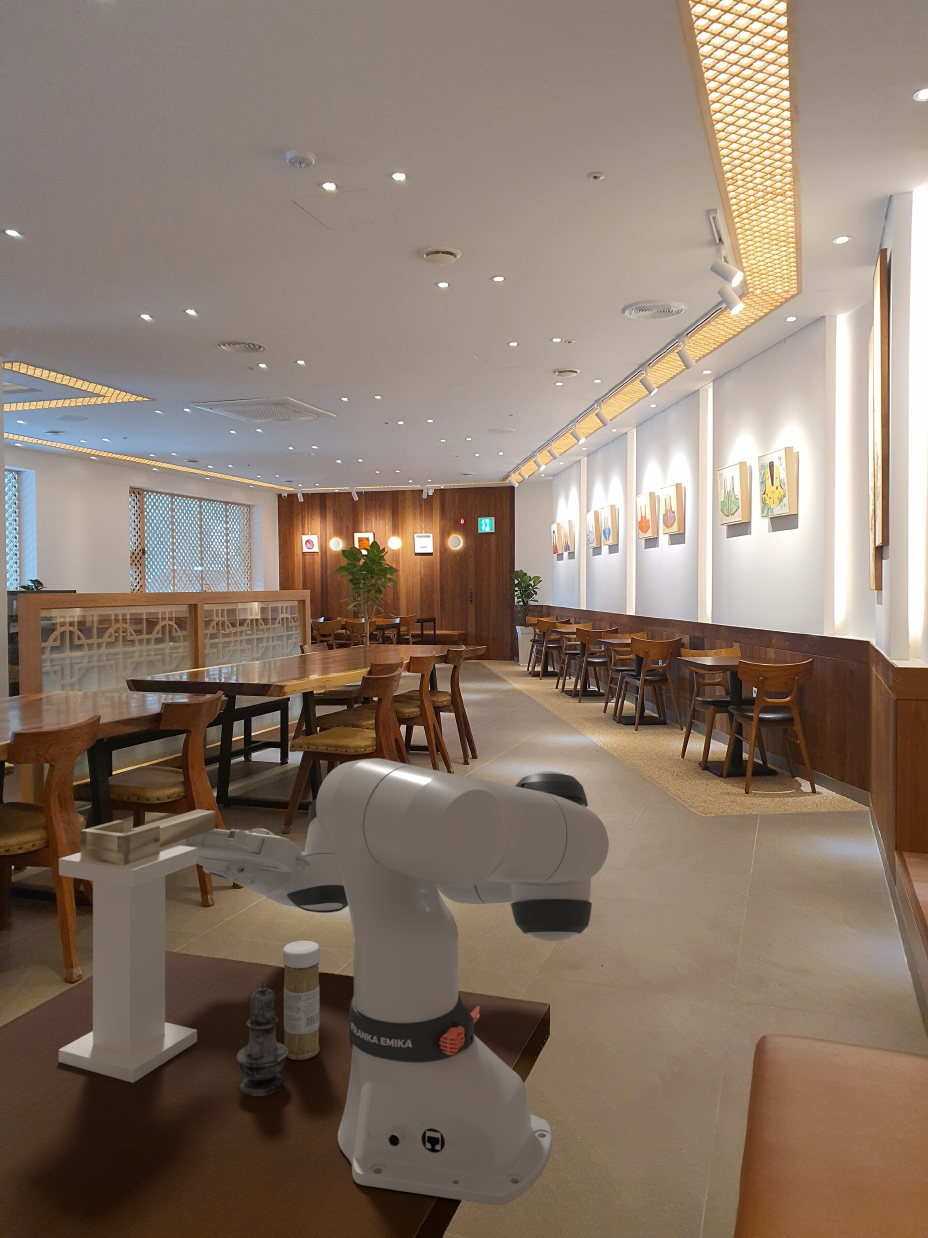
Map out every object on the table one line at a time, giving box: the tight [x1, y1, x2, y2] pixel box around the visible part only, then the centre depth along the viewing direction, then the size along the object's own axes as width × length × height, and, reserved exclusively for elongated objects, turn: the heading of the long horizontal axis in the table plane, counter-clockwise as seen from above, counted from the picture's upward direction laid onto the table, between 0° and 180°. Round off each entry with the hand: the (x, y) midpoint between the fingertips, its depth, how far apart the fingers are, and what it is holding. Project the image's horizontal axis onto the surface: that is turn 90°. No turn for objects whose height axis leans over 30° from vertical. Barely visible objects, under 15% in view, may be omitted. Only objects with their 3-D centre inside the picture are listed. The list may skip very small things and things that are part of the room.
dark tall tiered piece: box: [236, 981, 288, 1097], centre depth 103 cm, size 6×6×12 cm
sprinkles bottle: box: [282, 940, 321, 1061], centre depth 110 cm, size 5×5×14 cm
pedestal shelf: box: [58, 844, 198, 1084], centre depth 110 cm, size 12×11×25 cm
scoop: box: [79, 808, 216, 866], centre depth 115 cm, size 7×19×4 cm, turn 156°
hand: (206, 831), depth 124 cm, fingers open, 8 cm apart
